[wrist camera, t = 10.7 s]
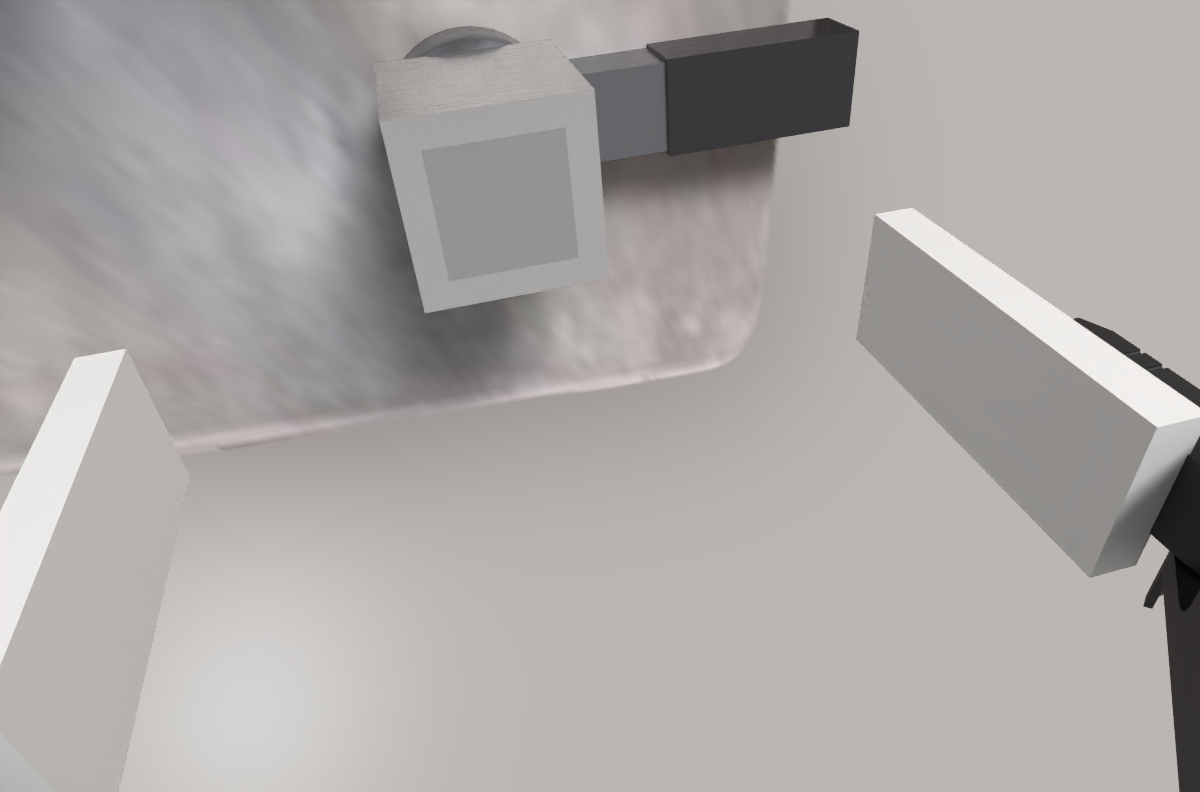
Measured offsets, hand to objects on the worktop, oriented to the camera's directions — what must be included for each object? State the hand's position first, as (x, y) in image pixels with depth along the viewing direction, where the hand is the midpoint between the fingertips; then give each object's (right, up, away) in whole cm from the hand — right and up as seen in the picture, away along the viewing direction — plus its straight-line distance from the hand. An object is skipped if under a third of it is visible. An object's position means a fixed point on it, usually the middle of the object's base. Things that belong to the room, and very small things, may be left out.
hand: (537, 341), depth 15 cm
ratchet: (+2, +12, +19) cm, 23 cm away
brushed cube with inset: (-4, +9, +17) cm, 19 cm away
